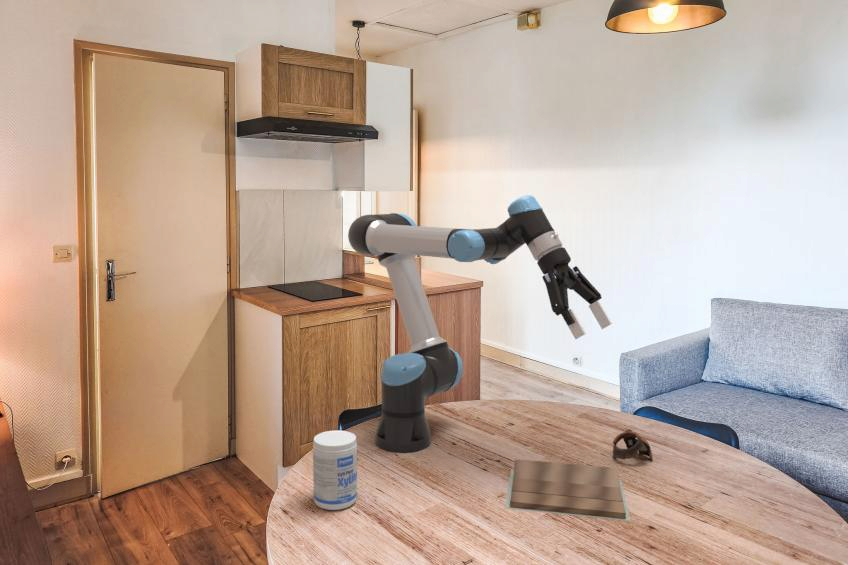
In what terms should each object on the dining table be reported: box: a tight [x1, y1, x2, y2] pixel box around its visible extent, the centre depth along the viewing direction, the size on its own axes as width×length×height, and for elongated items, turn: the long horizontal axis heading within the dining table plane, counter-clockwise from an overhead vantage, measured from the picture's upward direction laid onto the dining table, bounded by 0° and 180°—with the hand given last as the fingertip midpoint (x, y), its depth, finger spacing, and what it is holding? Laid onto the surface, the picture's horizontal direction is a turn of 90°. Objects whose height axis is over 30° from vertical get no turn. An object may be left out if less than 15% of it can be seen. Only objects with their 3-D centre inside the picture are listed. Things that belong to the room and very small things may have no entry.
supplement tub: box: [312, 429, 358, 511], centre depth 141 cm, size 10×10×15 cm
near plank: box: [512, 478, 623, 502], centre depth 145 cm, size 24×6×1 cm, turn 79°
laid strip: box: [510, 491, 626, 518], centre depth 139 cm, size 24×5×1 cm, turn 79°
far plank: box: [513, 458, 620, 488], centre depth 150 cm, size 24×6×1 cm, turn 79°
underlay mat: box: [505, 469, 632, 522], centre depth 146 cm, size 26×20×1 cm
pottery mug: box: [612, 429, 654, 462], centre depth 166 cm, size 12×10×8 cm
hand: (594, 331), depth 150 cm, fingers open, 13 cm apart
